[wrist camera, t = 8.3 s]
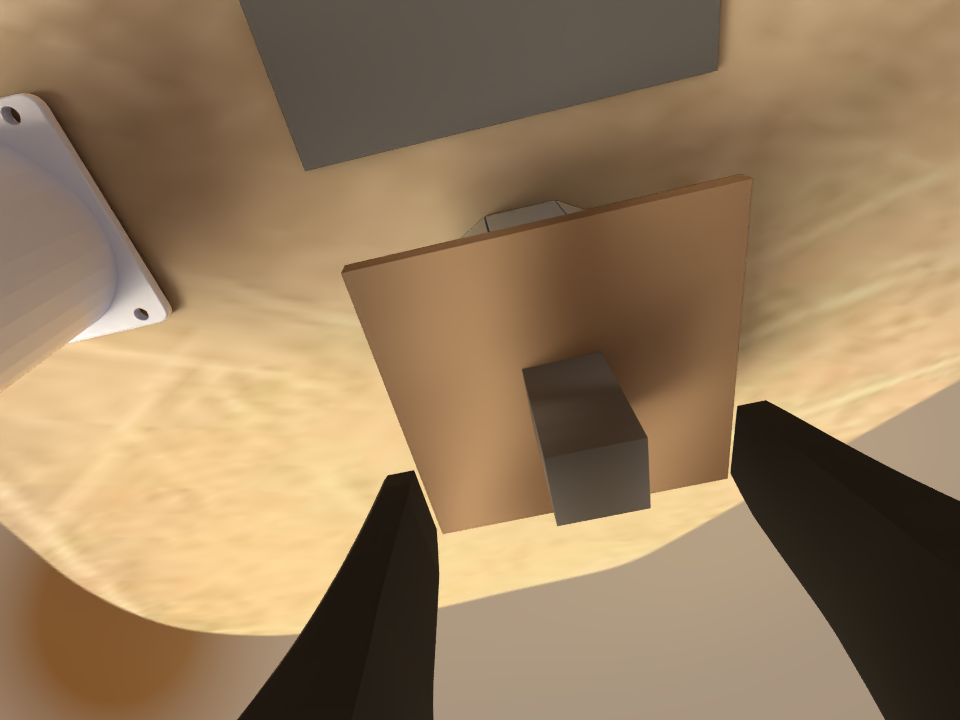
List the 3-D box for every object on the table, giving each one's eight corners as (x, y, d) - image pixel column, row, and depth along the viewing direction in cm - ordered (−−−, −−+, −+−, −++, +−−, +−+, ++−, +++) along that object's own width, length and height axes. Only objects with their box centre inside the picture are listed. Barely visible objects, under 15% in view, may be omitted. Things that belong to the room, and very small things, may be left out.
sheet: (442, 521, 19) (442, 638, 15) (345, 265, 14) (304, 347, 10) (719, 467, 19) (792, 574, 15) (740, 173, 13) (868, 221, 9)
